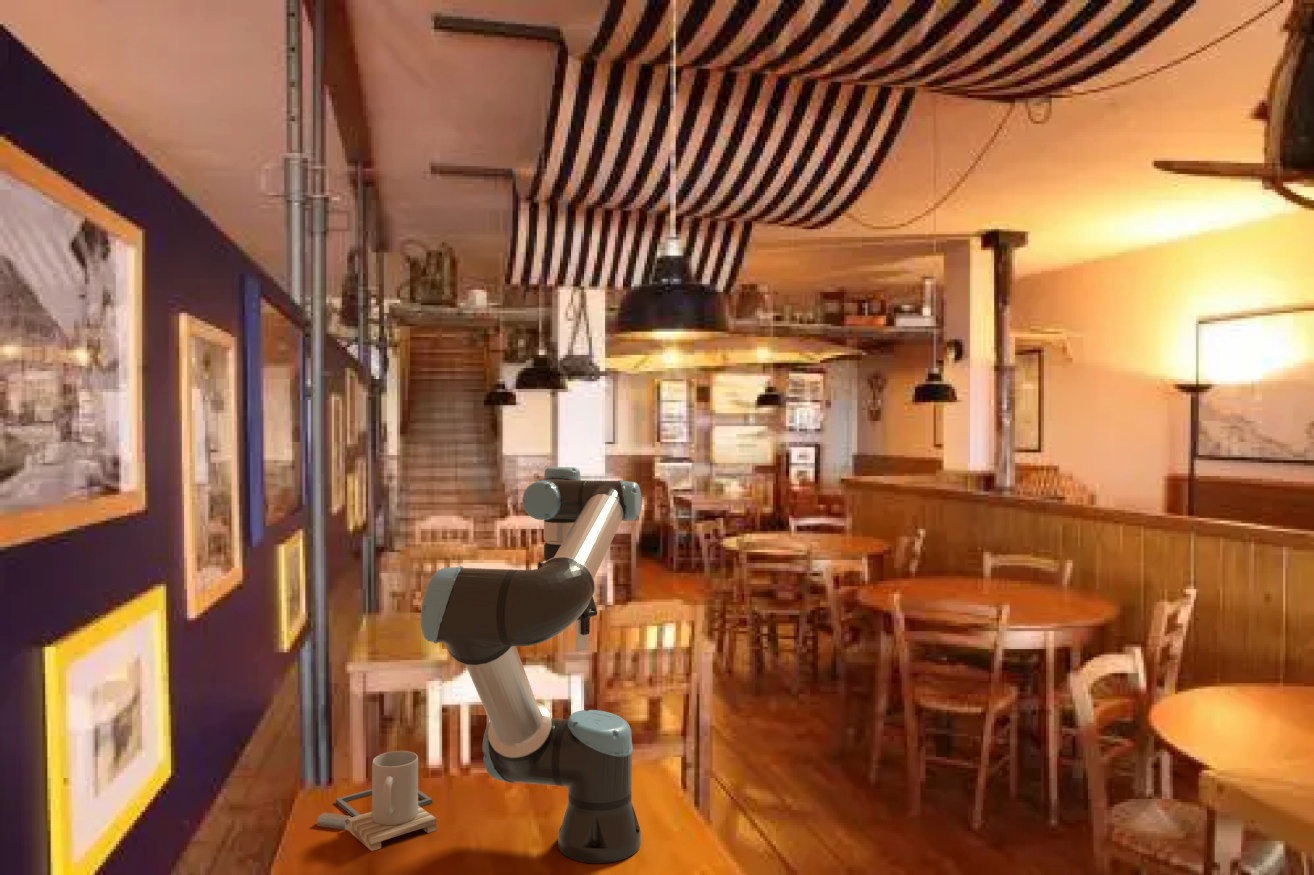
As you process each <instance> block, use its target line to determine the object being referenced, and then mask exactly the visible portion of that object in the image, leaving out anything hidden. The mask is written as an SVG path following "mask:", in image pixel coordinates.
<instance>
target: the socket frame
mask: <svg viewBox="0 0 1314 875" xmlns="http://www.w3.org/2000/svg"><path fill="white" fill-rule="evenodd" d="M370 795H371V796H372V788H371V789H367V790H363V791H360V792H357V793H356V792H355V793H352V794H348V795H345V796H341V797H338V798H335V803H336V805H338V806H339V807H340V808H342V809H343V810H344V811H345V812H346V811H347V812H348V813H347V812H346V813H347V814H349V816H351V817H352V816H353V817H355V816H358V815H361V814H360V813H359V812H358V811H357V810H355V809H354V808H353V807H352V806H351V805H349V804H348V803H347V802H350V801H353V799H354V800H356V799H355V798H357V799H360V797H361V798H364V797H366V796H370ZM418 799H421V800H418V806H420V807H421V808H422V807H424V806H428V805H431V804H433V798H431V797H430V796H428V795H427V794H425V793H424V792H423V791H421V790H420V789H418ZM349 800H350V801H349Z"/></svg>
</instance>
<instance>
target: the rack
mask: <svg viewBox="0 0 1314 875" xmlns="http://www.w3.org/2000/svg"><path fill="white" fill-rule="evenodd" d="M437 826H438V824H437V817H435V816H433V814H431V813H429V812H428V811H426V810H425V809H424V808H422V806H421V807H420V806H418V815H417V816H416V818H414V819H413V820H411V821H409V822H407V823H404V824H399V825H390V826H387V825H380V824H377V823H375V822H374V821H373V820H372V811H369V812H366V813H361V814H360V815H358V816H355V817H352V816H351V818H348V824H347V829H346V830H347V831H348V832H349V833H350V834H351V835H353V837H355V838H356V839H357V840H358V841H360V843H362V844H363V846H365V847H366V848H368V850H369V851H371V852H373V851H376V850H379V849H382V842H383V841H387V840H390V839H392V838H395V837H399V836H401V835H406V834H407V833H411V832H414V831H418V830H420V829H422V830H423V831H425V832H426V833H427V834H428V833H429V834H430V833H432V832H435V831H438V830H437Z"/></svg>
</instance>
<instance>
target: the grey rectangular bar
mask: <svg viewBox="0 0 1314 875" xmlns="http://www.w3.org/2000/svg"><path fill="white" fill-rule="evenodd" d="M351 817H352V816H351V815H346V814H337V813H330V812H322V813H321V814H319V816H317V827H324V828H330V829H336V830H343V829H344V831H345V830H347V824H348V818H351Z"/></svg>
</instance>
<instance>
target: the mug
mask: <svg viewBox="0 0 1314 875" xmlns="http://www.w3.org/2000/svg"><path fill="white" fill-rule="evenodd" d="M371 776H372V777H371V780H372V781H371V789H372V794H371V812H372V820H373V821H374V822H375V823H377V824H380V825H387V826H390V825H399V824H404V823H407V822H409V821H411V820H413V819H414V818H416V816H417V815H418V801H419V797H418V790H419V756H418V755H417V753H415V752H413V751H408V750H395V751H388V752H384V753H381V754H379V755H377V756H375V757H373V759H372V765H371Z"/></svg>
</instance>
